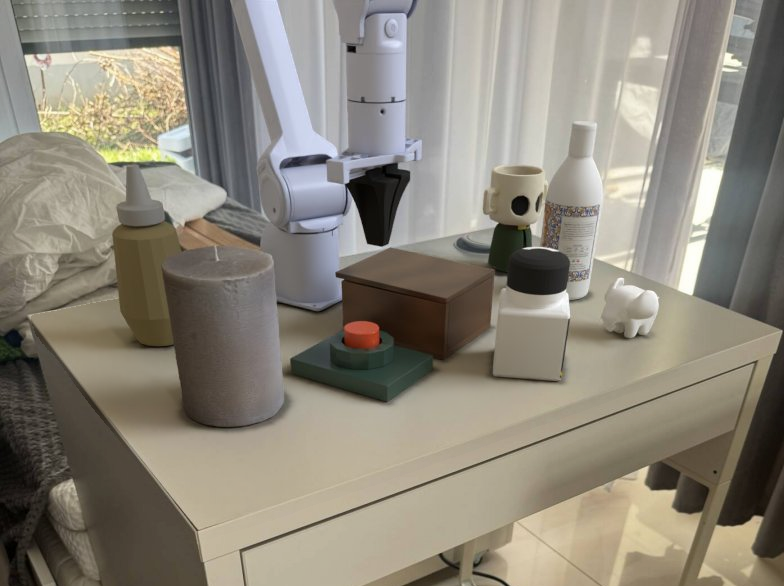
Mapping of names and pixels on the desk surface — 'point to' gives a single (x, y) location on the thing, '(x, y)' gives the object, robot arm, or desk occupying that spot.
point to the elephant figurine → (629, 309)
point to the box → (421, 316)
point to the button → (361, 334)
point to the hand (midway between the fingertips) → (377, 244)
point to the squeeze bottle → (143, 261)
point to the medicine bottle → (533, 316)
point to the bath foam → (575, 208)
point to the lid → (416, 274)
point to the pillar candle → (225, 333)
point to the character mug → (513, 209)
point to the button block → (363, 366)
